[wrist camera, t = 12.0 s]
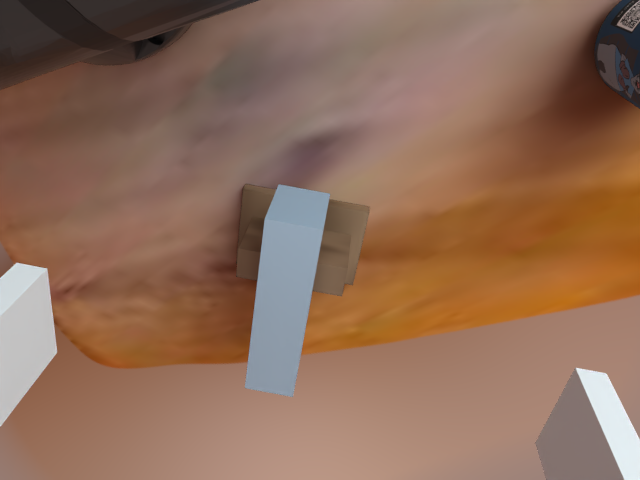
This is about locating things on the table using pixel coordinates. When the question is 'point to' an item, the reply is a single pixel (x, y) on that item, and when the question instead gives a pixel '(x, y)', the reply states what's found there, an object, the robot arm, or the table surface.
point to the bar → (285, 287)
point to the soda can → (621, 50)
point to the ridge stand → (336, 244)
